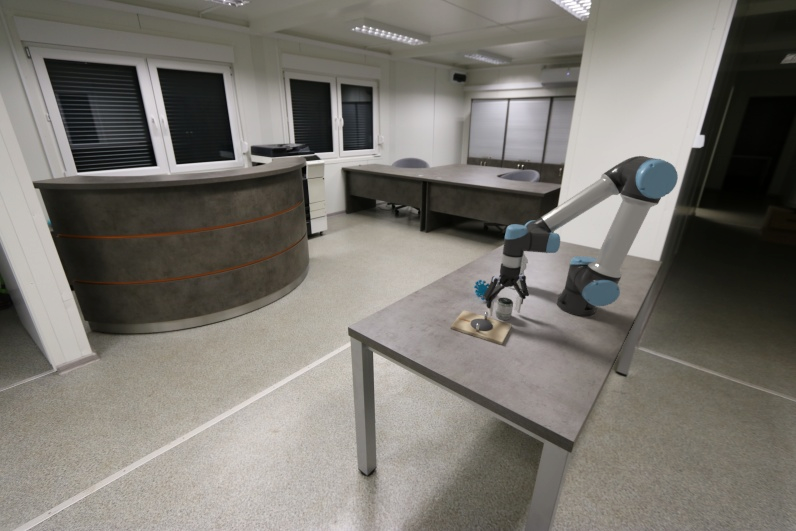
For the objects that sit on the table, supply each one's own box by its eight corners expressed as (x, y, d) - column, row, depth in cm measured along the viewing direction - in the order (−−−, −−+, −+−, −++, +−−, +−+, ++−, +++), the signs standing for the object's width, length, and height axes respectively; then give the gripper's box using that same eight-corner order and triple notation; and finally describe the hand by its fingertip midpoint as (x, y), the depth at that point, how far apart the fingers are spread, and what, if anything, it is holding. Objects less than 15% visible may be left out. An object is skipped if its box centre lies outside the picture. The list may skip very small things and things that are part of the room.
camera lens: (502, 322, 141) (505, 304, 138) (491, 314, 146) (494, 298, 143) (514, 318, 143) (517, 301, 140) (503, 311, 148) (505, 295, 145)
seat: (495, 323, 137) (495, 322, 137) (488, 333, 131) (488, 332, 131) (474, 317, 141) (474, 316, 141) (467, 326, 135) (467, 326, 134)
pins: (487, 319, 140) (488, 312, 139) (478, 332, 131) (479, 325, 130) (484, 318, 141) (485, 311, 140) (475, 331, 132) (476, 324, 131)
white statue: (515, 292, 165) (522, 249, 157) (493, 283, 174) (498, 241, 165) (529, 284, 173) (536, 243, 164) (507, 276, 181) (512, 236, 172)
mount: (511, 326, 137) (512, 323, 137) (501, 344, 126) (502, 341, 126) (463, 312, 147) (463, 310, 146) (450, 328, 136) (450, 325, 135)
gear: (480, 301, 153) (473, 280, 156) (472, 305, 158) (465, 285, 161) (498, 298, 159) (490, 278, 162) (489, 302, 164) (482, 283, 167)
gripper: (532, 258, 142) (524, 305, 150) (478, 263, 136) (472, 311, 144) (544, 265, 135) (534, 314, 143) (487, 270, 129) (480, 320, 138)
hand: (503, 312), depth 144 cm, fingers open, 12 cm apart
